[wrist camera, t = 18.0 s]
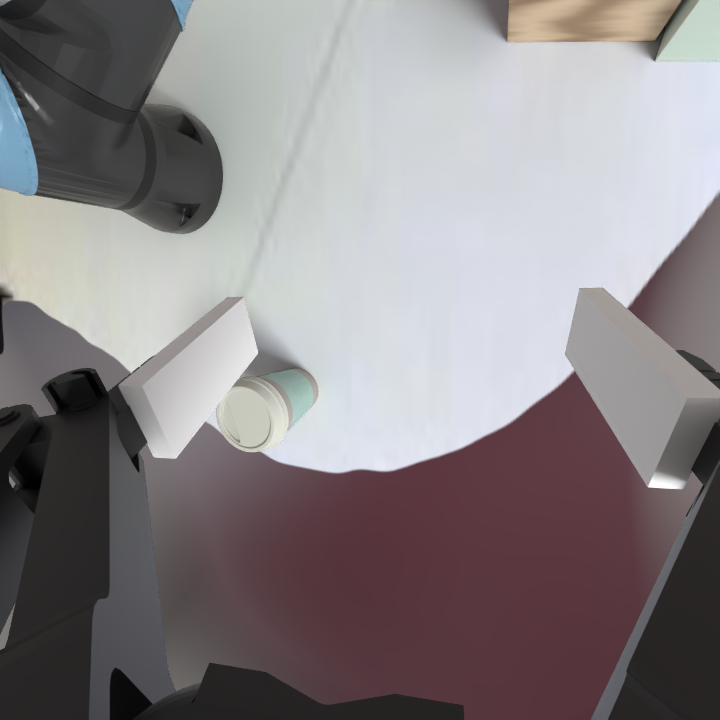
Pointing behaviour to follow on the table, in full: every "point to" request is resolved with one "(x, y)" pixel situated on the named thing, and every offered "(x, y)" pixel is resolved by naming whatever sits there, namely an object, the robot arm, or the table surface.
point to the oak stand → (588, 20)
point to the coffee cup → (265, 408)
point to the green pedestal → (692, 33)
